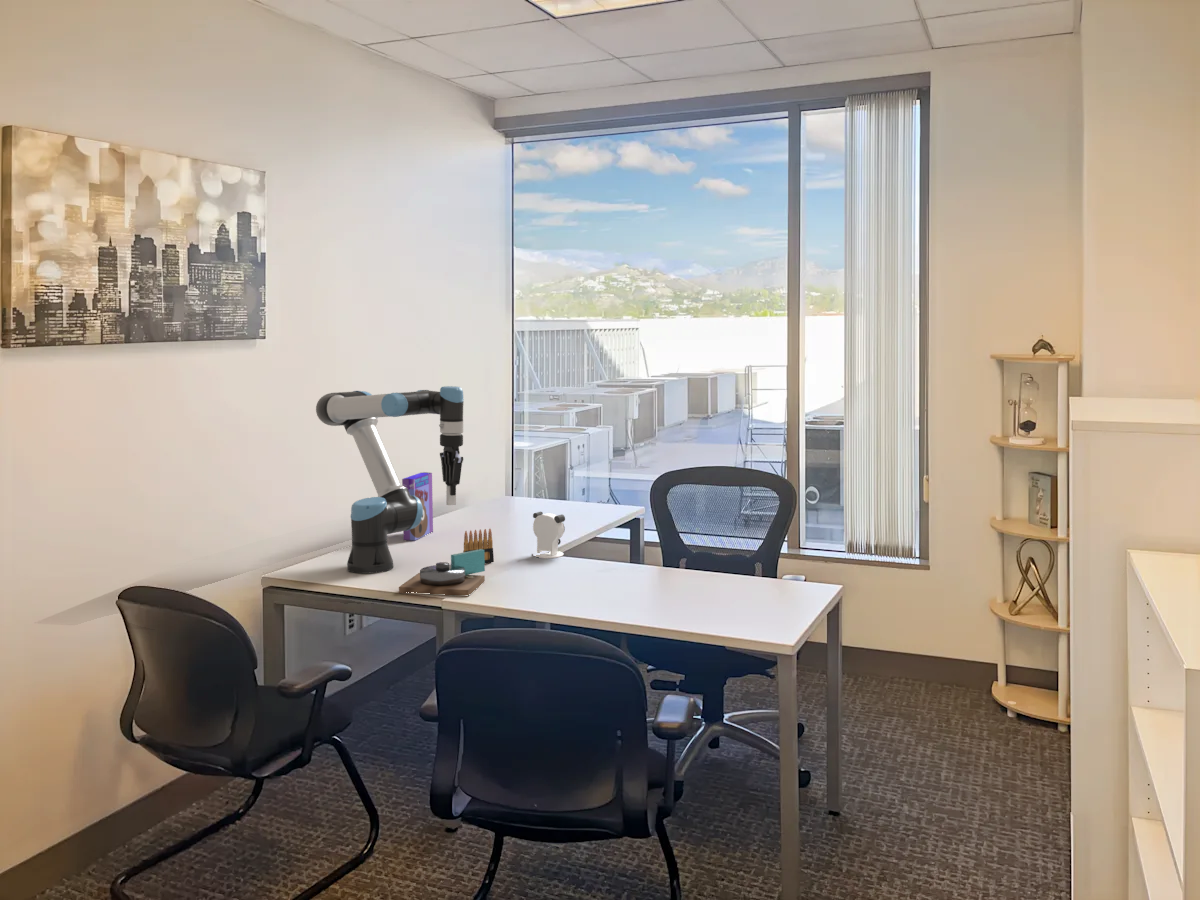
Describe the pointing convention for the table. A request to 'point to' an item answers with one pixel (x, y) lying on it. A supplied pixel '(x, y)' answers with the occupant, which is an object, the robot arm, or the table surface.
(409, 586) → the stand
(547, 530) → the panda figurine
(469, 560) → the dial
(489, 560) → the ammunition clip
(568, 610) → the table surface
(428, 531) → the cereal box
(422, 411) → the robot arm
